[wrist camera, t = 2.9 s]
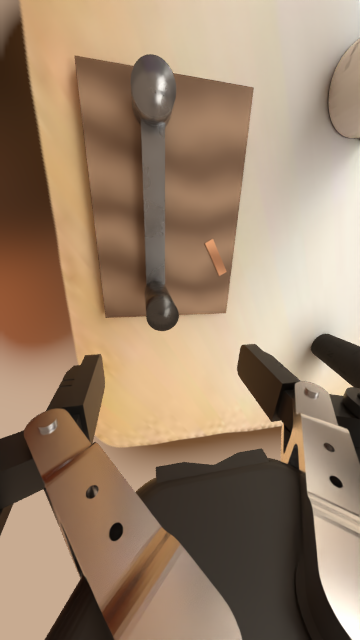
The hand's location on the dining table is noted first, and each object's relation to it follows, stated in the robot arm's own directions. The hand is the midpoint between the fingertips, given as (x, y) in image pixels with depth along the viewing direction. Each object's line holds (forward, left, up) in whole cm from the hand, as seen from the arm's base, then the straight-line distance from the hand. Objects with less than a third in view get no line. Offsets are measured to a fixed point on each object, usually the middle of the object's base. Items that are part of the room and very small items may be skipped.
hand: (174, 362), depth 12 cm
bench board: (+3, -9, -20) cm, 22 cm away
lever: (+5, -8, -18) cm, 20 cm away
